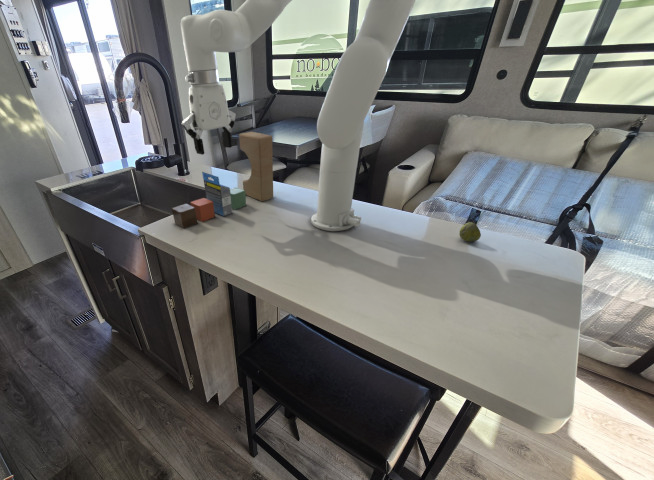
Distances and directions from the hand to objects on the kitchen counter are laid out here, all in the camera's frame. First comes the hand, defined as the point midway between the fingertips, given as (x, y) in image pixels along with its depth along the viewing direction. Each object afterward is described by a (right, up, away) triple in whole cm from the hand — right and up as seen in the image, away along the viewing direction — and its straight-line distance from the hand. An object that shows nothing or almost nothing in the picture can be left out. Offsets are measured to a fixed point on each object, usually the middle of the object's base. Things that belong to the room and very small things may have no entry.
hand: (214, 150), depth 90 cm
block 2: (-5, -18, +8) cm, 20 cm away
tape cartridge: (0, -15, +11) cm, 19 cm away
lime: (+67, -28, -11) cm, 73 cm away
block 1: (-9, -20, +5) cm, 23 cm away
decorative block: (+12, -7, +21) cm, 26 cm away
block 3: (+5, -12, +15) cm, 20 cm away
